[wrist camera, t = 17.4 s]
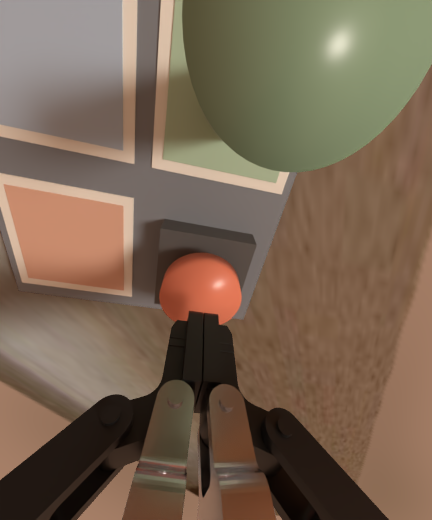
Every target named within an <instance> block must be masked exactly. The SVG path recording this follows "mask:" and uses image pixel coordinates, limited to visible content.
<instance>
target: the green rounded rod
mask: <svg viewBox="0 0 432 520" xmlns="http://www.w3.org/2000/svg"><path fill="white" fill-rule="evenodd" d="M182 28H183V43H184V50H185V57H186V63H187V67H188V71H189V75H190V79H191V83H192V86H193V89H194V92H195V94H196V97H197V100H198V102H199V105H200V108H201V110H202V112H203V114H204V116H205V118H206V120H207V122H208V123H209V125H210V126H211V128H212V129H213V131H214V132H215V133H216V134H217V135H218V136H219V138H220V139H221V140H222V141H223V142H224V143H225V144H227V145H228V146H229V147H230V148H231V149H232V150H233V151H234V152H235V153H237V154H238V155H240V156H241V157H243V158H244V159H246V160H247V161H249V162H251V163H253V164H255V165H258V166H260V167H263V168H266V169H270V170H273V171H280V172H304V171H312V170H315V169H319V168H323V167H326V166H329V165H331V164H334V163H336V162H339V161H341V160H342V159H344V158H346V157H348V156H350V155H352V154H353V153H355V152H356V151H358V150H359V149H361V148H362V147H364V146H365V145H367V144H368V143H369V142H370V141H371V140H373V139H374V138H375V137H376V136H377V135H378V134H380V133H381V132H382V131H383V130H384V129H385V128H386V127H387V126H388V125H389V124H390V123H391V122H392V121H393V120H394V118H395V117H396V116H397V115H398V114H399V112H400V111H401V110H402V109H403V108H404V106H405V105H406V104H407V103H408V101H409V100H410V98H411V97H412V95H413V94H414V92H415V91H416V90H417V88H418V87H419V85H420V83H421V82H422V80H423V78H424V76H425V75H426V73H427V71H428V70H429V68H430V66H431V64H432V0H183V2H182Z"/></svg>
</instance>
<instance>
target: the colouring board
mask: <svg viewBox="0 0 432 520" xmlns="http://www.w3.org/2000/svg"><path fill="white" fill-rule="evenodd" d="M182 2H183V0H0V231H1V234H2V237H3V240H4V244H5V247H6V250H7V254H8V257H9V260H10V263H11V267H12V270H13V273H14V276H15V280H16V283H17V286H18V289H19V291H23V292H30V293H38V294H46V295H54V296H62V297H70V298H78V299H86V300H93V301H101V302H109V303H117V304H125V305H133V306H141V307H149V308H156V309H162V307H161V304H160V300H159V294H160V289H161V286H162V282H163V279H164V275H165V273H166V271H167V269H168V267H169V266H170V265H171V264H172V263H173V262H174V261H175V260H177V259H178V258H180V257H182V256H185V255H188V254H192V253H210V254H214V255H217V256H219V257H221V258H223V259H225V260H226V261H228V262H229V263H230V264H231V265H232V266H233V268H234V269H235V271H236V273H237V275H238V279H239V284H240V289H241V296H242V299H241V304H240V307H239V309H238V311H237V313H236V314H235V315H234V316H233V317H232V318H235V319H244V316H245V313H246V311H247V308H248V305H249V302H250V300H251V297H252V294H253V291H254V289H255V286H256V283H257V281H258V278H259V275H260V272H261V270H262V267H263V264H264V261H265V259H266V256H267V253H268V251H269V248H270V245H271V242H272V240H273V237H274V234H275V231H276V229H277V226H278V223H279V221H280V218H281V215H282V212H283V210H284V207H285V204H286V201H287V199H288V196H289V193H290V191H291V188H292V185H293V182H294V180H295V177H296V174H297V172H280V171H273V170H270V169H266V168H263V167H260V166H258V165H255V164H253V163H251V162H249V161H247V160H246V159H244V158H243V157H241V156H240V155H238V154H237V153H235V152H234V151H233V150H232V149H231V148H230V147H229V146H228V145H227V144H225V143H224V142H223V141H222V140H221V139H220V138H219V136H218V135H217V134H216V133H215V132H214V131H213V129H212V128H211V126H210V125H209V123H208V122H207V120H206V118H205V116H204V114H203V112H202V110H201V108H200V105H199V102H198V100H197V97H196V94H195V92H194V89H193V86H192V83H191V79H190V75H189V71H188V67H187V63H186V57H185V50H184V43H183V28H182Z"/></svg>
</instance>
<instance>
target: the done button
mask: <svg viewBox="0 0 432 520" xmlns="http://www.w3.org/2000/svg"><path fill="white" fill-rule="evenodd" d="M241 299H242V296H241V289H240V284H239V279H238V275H237V273H236V271H235V269H234V268H233V266H232V265H231V264H230V263H229V262H228V261H226V260H225V259H223V258H221V257H219V256H217V255H214V254H210V253H192V254H188V255H185V256H182V257H180V258H178V259H177V260H175V261H174V262H173V263H172V264H171V265H170V266H169V267H168V269H167V271H166V273H165V275H164V279H163V282H162V286H161V289H160V294H159V300H160V304H161V307H162V309H163V311H164V312H165V313H166V315H167V316H168V317H169V318H171V319H172V320H173V321H175V322H176V321H177V320H182V321H187V319H188V313H189V311H196V312H203V314H204V313H212V314H218V316H219V325H221V324H223V323H225V322H227V321H228V320H230V319H231V318H232V317H233V316H234V315H235V314H236V313H237V311H238V309H239V307H240V304H241Z"/></svg>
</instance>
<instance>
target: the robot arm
mask: <svg viewBox="0 0 432 520" xmlns="http://www.w3.org/2000/svg"><path fill="white" fill-rule="evenodd" d="M193 411H194V413H200V426H199V429H198V433H197V441H198V476H199V505H198V514H197V520H276V516H275V511H274V508H275V509H276V511H277V512H278V514H279V515H280V517H281V518H282V520H389V519H388V518H387V517H386V516H385V515H384V514H383V513H382V512H381V511H380V510H379V508H378V507H377V506H376V505H375V504H374V503H373V502H372V501H371V500H370V499H369V497H368V496H367V495H366V494H365V493H364V492H363V491H362V490H361V489H360V488H359V487H358V485H357V484H356V483H355V482H354V481H353V480H352V479H351V478H350V477H349V476H348V475H347V473H346V472H345V471H344V470H343V469H342V468H341V467H340V466H339V465H338V464H337V462H336V461H335V460H334V459H333V458H332V457H331V456H330V455H329V454H328V453H327V452H326V450H325V449H324V448H323V447H322V446H321V445H320V444H319V443H318V442H317V441H316V440H315V438H314V437H313V436H312V435H311V434H310V433H309V432H308V431H307V430H306V429H305V427H304V426H303V425H302V424H301V423H300V422H299V421H298V420H297V419H296V418H295V417H294V416H293V415H292V414H291V413H290V412H289V411H287V410H285V409H283V408H274V409H271V410H270V411H269V412H268V411H266V410H264V409H262V408H259V407H257V406H255V405H253V404H251V403H250V402H248V401H247V400H246V399H245V398H244V397H243V395H242V394H241V392H240V390H239V387H238V382H237V374H236V365H235V357H234V348H233V339H232V334H231V332H230V330H229V329H228V327H227V326H223V325H219V316H218V314H212V313H204V314H203V312H196V311H189V313H188V319H187V321H182V320H177V321H176V322H175V324H174V325H173V326H172V328H171V334H170V339H169V344H168V350H167V355H166V361H165V366H164V372H163V377H162V380H161V383H160V384H159V386H158V387H157V388H156V389H155V390H154V391H153V392H152V393H150V394H148V395H146V396H144V397H140V398H136V399H133V400H129V399H128V398H126V397H125V396H122V395H110V396H107V397H105V398H103V399H101V400H100V401H98V402H97V403H96V404H95V405H93V406H92V407H91V408H90V409H88V410H87V411H86V412H85V413H83V414H82V415H81V416H80V417H78V418H77V419H76V420H75V421H73V422H72V423H71V424H70V425H69V426H67V427H66V428H65V429H64V430H62V431H61V432H60V433H59V434H57V435H56V436H55V437H54V438H52V439H51V440H50V441H49V442H47V443H46V444H45V445H44V446H42V447H41V448H40V449H39V450H37V451H36V452H35V453H34V454H32V455H31V456H30V457H29V458H27V459H26V460H25V461H24V462H22V463H21V464H20V465H19V466H17V467H16V468H15V469H14V470H12V471H11V472H10V473H9V474H8V475H6V476H5V477H4V478H2V479H1V480H0V520H77V519H78V518H79V517H80V515H81V514H82V513H83V512H84V511H85V510H86V509H87V508H88V506H89V505H90V504H91V503H92V502H93V501H94V500H95V499H96V497H97V496H98V495H99V494H100V493H101V492H102V491H103V490H104V488H105V487H106V486H107V485H108V484H109V483H110V481H112V479H113V478H114V477H115V476H116V475H117V474H118V473H119V472H120V470H121V469H122V468H123V467H124V466H125V465H127V464H130V463H132V462H135V461H138V460H139V464H138V466H137V468H136V472H135V474H134V478H133V481H132V485H131V489H130V492H129V496H128V500H127V503H126V507H125V511H124V515H123V518H122V520H182V515H183V506H184V497H185V489H186V476H187V473H186V466H187V457H188V448H189V440H190V432H191V424H192V416H193ZM273 506H274V507H273Z"/></svg>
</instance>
